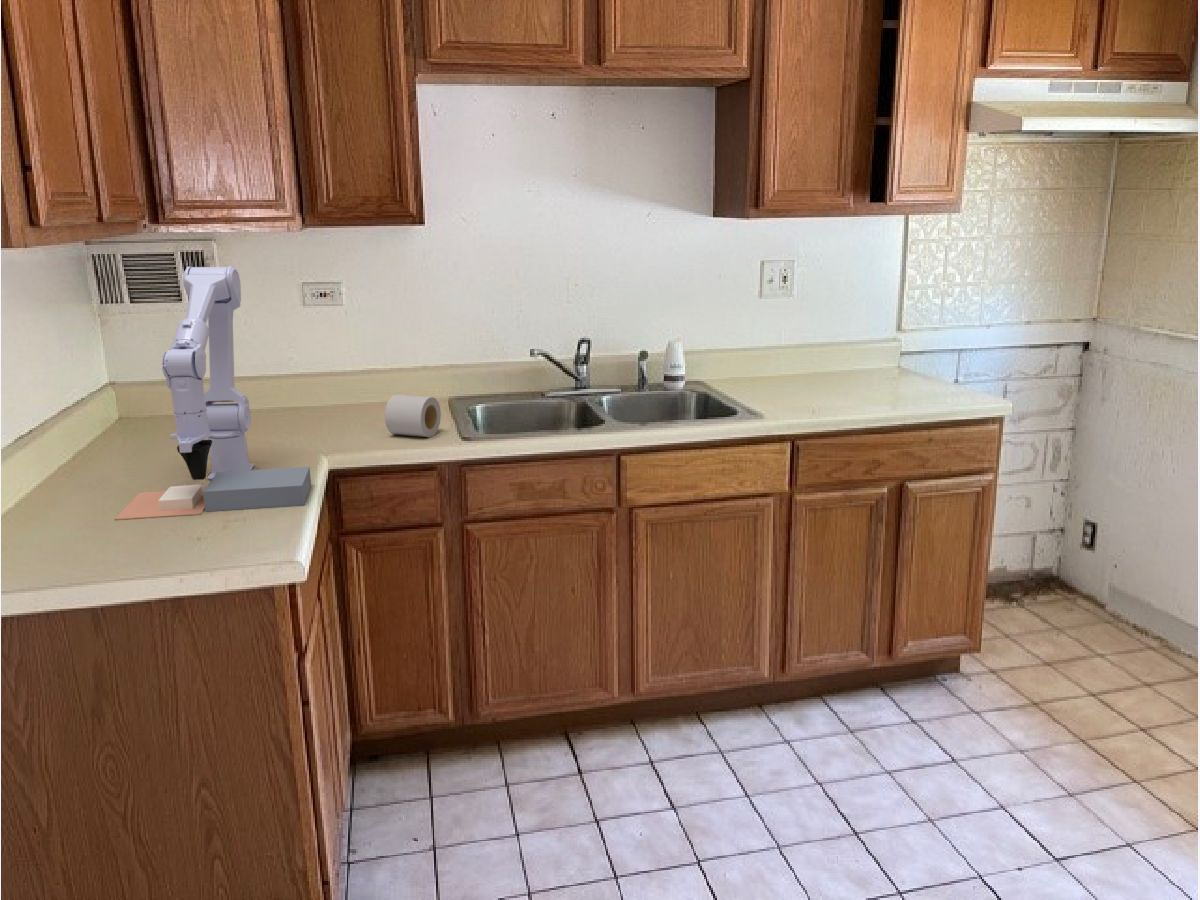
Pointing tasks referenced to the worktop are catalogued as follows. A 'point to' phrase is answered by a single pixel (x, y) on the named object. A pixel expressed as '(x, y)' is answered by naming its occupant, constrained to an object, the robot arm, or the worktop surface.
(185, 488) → the white rectangular block
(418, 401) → the toilet paper
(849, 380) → the worktop surface
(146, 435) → the worktop surface
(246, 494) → the plate
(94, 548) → the worktop surface
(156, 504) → the terracotta mat
